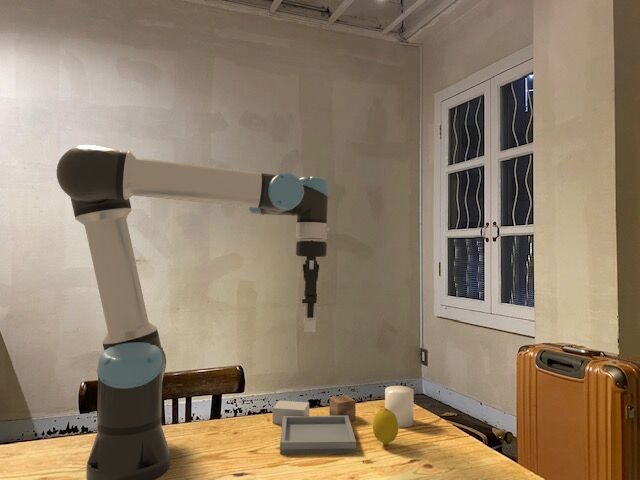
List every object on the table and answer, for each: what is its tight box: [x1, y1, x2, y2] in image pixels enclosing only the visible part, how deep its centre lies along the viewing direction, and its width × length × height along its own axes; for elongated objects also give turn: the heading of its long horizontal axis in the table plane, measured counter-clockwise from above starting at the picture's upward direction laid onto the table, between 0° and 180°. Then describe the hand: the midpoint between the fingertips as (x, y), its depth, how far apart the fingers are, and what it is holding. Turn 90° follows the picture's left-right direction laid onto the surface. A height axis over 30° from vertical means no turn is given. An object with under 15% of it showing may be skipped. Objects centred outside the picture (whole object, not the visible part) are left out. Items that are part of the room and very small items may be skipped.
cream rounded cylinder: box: [384, 385, 415, 428], centre depth 119 cm, size 7×7×8 cm
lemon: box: [372, 408, 399, 446], centre depth 105 cm, size 6×6×8 cm
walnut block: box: [328, 394, 357, 422], centre depth 122 cm, size 5×5×5 cm
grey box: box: [272, 400, 310, 425], centre depth 120 cm, size 8×6×4 cm
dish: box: [279, 415, 357, 455], centre depth 108 cm, size 16×16×2 cm
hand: (309, 327), depth 117 cm, fingers open, 13 cm apart
